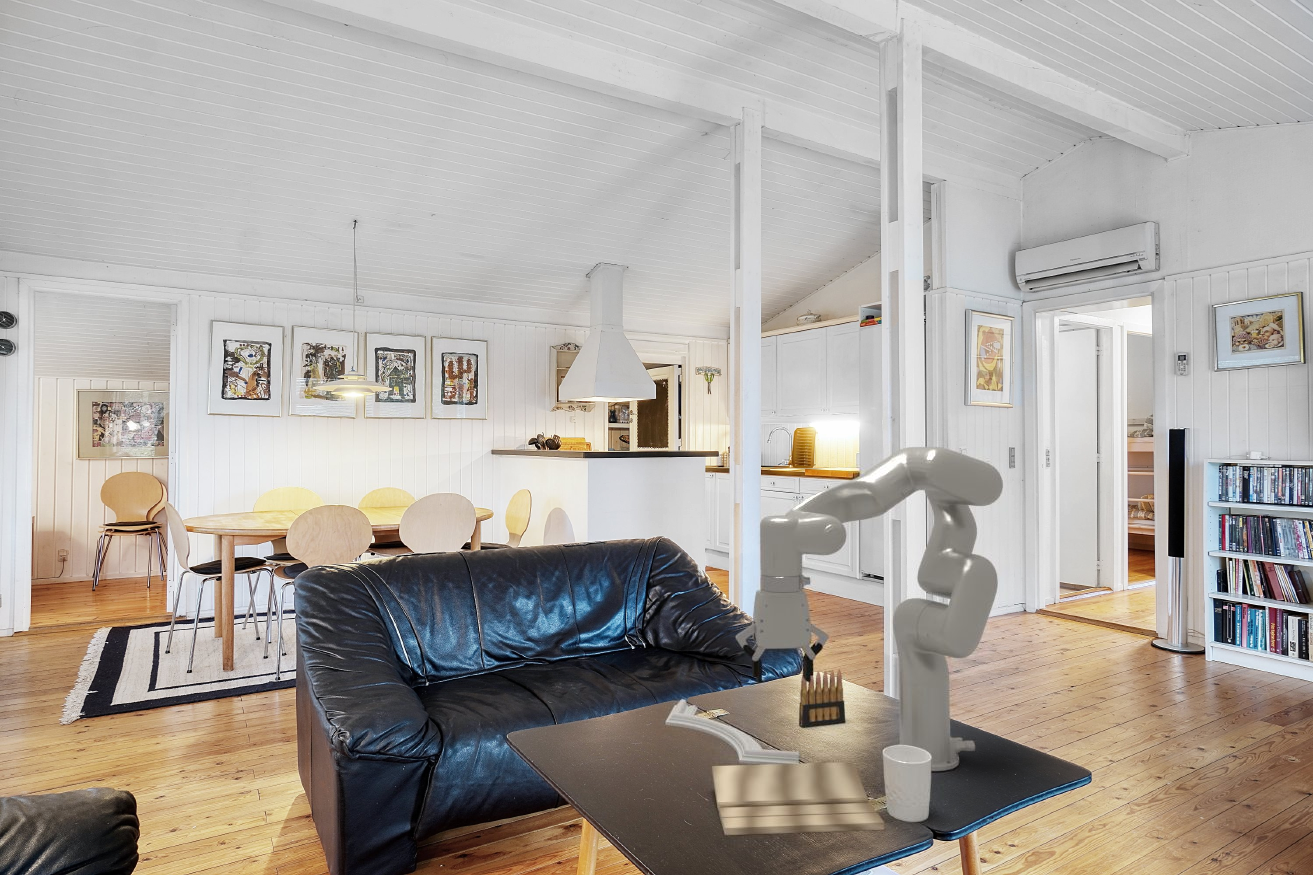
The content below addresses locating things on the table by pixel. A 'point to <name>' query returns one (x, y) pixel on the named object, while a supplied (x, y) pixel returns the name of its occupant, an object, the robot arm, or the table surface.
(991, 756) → the table surface
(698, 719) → the molding
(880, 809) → the table surface
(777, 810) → the laid board
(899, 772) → the white cup
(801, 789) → the plank
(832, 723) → the ammunition clip
